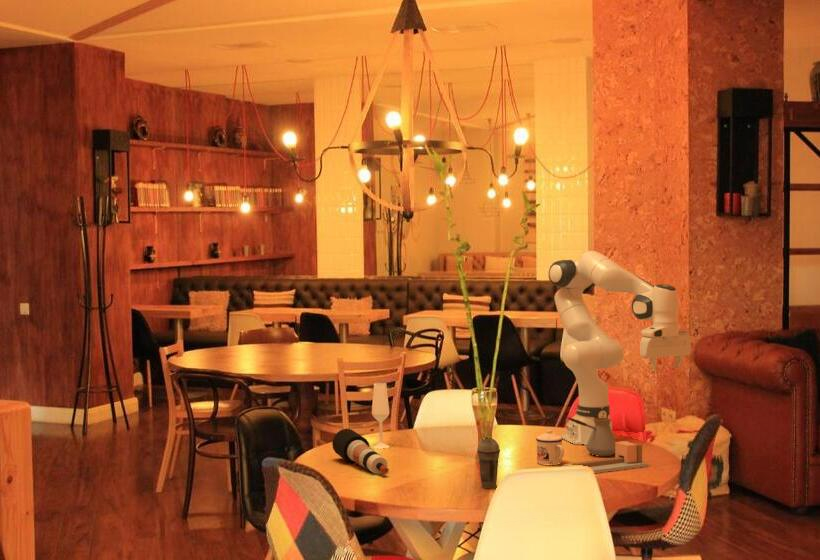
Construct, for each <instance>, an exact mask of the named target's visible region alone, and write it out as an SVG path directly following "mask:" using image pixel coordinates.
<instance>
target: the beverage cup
mask: <svg viewBox="0 0 820 560" xmlns="http://www.w3.org/2000/svg"><path fill="white" fill-rule="evenodd" d="M490 425H491V424H488V425H487V437H485V438H483V439H482V440H480V442H479V443H478V445H477V450H476V451H477V458H478V462H479V472H480V473H479V474H480V482H481V488H483V489H489V490H490V489H495V488H497V483H498V468H499V457H500V452H501V450H500V444H499V443H498V442H497V440H495V439H494V438H491V437H490V431H491V430H490Z"/></svg>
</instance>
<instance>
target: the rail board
mask: <svg viewBox="0 0 820 560" xmlns="http://www.w3.org/2000/svg"><path fill="white" fill-rule="evenodd" d="M625 441H626V442H630V443H632V442H631V441H630V440H625ZM568 465H583V466H588V467H591V468H592V469H593V471H594V472H595V473H597V474H601V473H600V472H604V473H609V472H608V471H612V472H617V471H616V470H619V471H625V470H624V469H627V470H633V469H632V468H634V469H641V468H640V467H642V468H647V467H648V463H647V462H644V461H643V445H642V444H640V443H637V462H631V463H626V462H624V457H616V458H615V457H611V458H610V457H609V458H601V459H594V460H587V461H586V460H585V461H578V462H572V463H564V464H563V465H562V467H563V466H568Z"/></svg>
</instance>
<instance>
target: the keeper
mask: <svg viewBox="0 0 820 560" xmlns="http://www.w3.org/2000/svg"><path fill="white" fill-rule="evenodd" d="M626 441H627V440H623V441H616V442H615V453H614V454H615V457H614V458H616V457H624V462H626V463H631V462H637V444H638V443H637V444H636V443H633V442H631V441H630V442H631V443H630V442H626Z"/></svg>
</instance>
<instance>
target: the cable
mask: <svg viewBox="0 0 820 560" xmlns="http://www.w3.org/2000/svg"><path fill="white" fill-rule="evenodd" d="M331 444H332V449H333V451H334V452H335V454H336V455H338V456H339V457H340V458H342V459H343V460H345V461H346V462H347V463H349V464H351V465H353V464H354V465H355V464H357V465H359V466H361V468H365V469H366V470H368V471H369V472H371V473H373V474H374V475H381V474H380V473H382V474H385V475H386V474H388V473H389V471H390V469H389V468H388V462H387V460H386V459H385V457H383V456H382V455H380V454H379V453H378V452H376V451H375V448H373V447H371V446H370V443H369V441H368V439H366V438H365V437H364V436H362V435H361V434H359V433H358V432H356V431H355V430H354V429H351V428H343V429H340V430H339V431H338V432H337V433H335V435H334V437H333V438H332V442H331Z"/></svg>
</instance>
